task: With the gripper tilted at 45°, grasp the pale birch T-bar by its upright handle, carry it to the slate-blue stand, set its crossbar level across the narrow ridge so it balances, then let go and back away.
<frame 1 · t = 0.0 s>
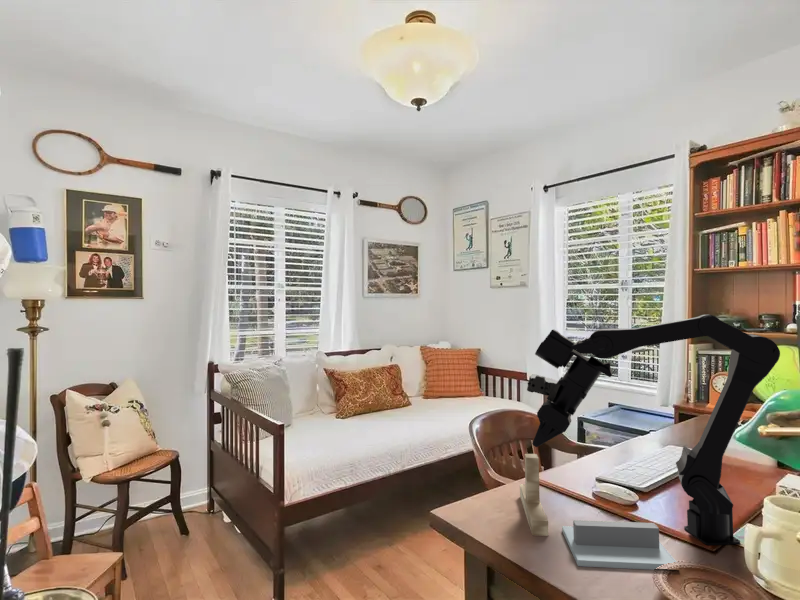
hand: (538, 439, 100), 15 cm above the table, tool tilted 35°, fingers open, 9 cm apart
t bar: (532, 515, 96), on the table
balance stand: (615, 549, 82), on the table
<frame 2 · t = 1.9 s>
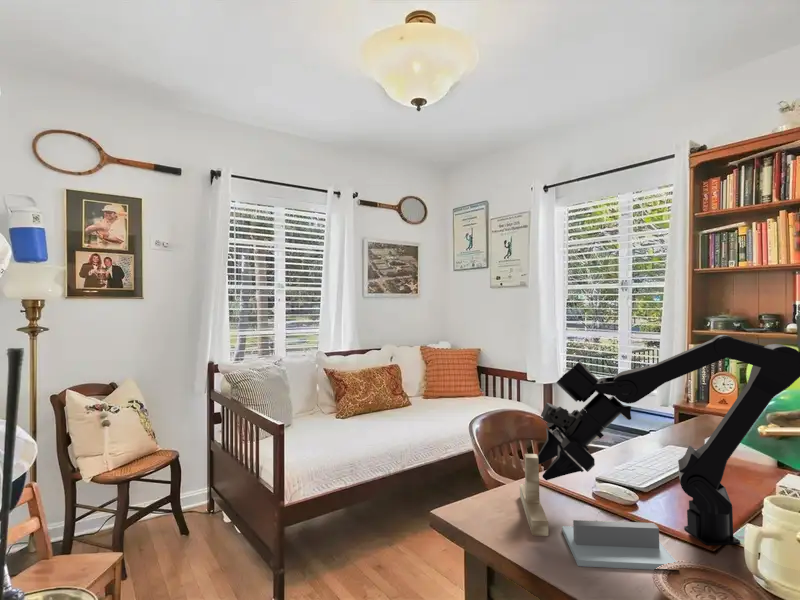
hand: (540, 470, 96), 9 cm above the table, tool tilted 45°, fingers open, 9 cm apart
nothing on the table moved.
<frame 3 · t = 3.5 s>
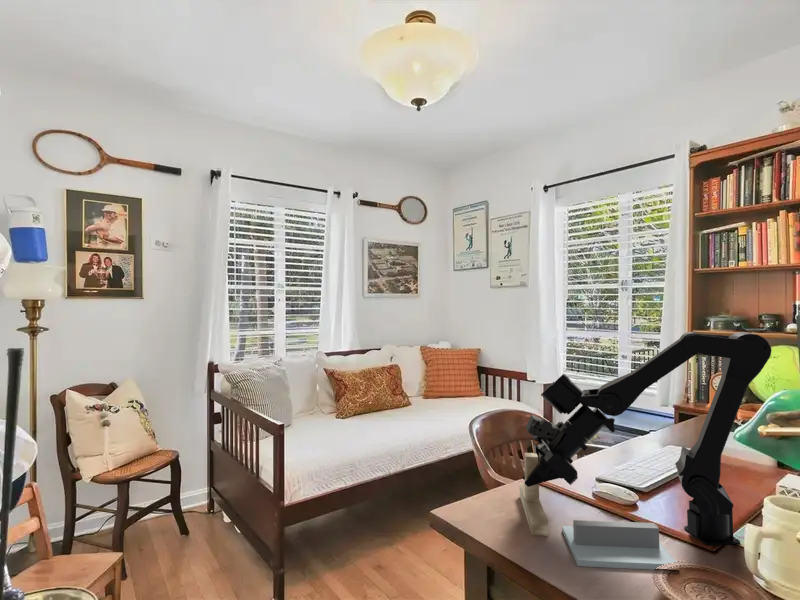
hand: (524, 482, 97), 7 cm above the table, tool tilted 45°, fingers closed on t bar, 2 cm apart
t bar: (532, 514, 97), on the table, touching gripper
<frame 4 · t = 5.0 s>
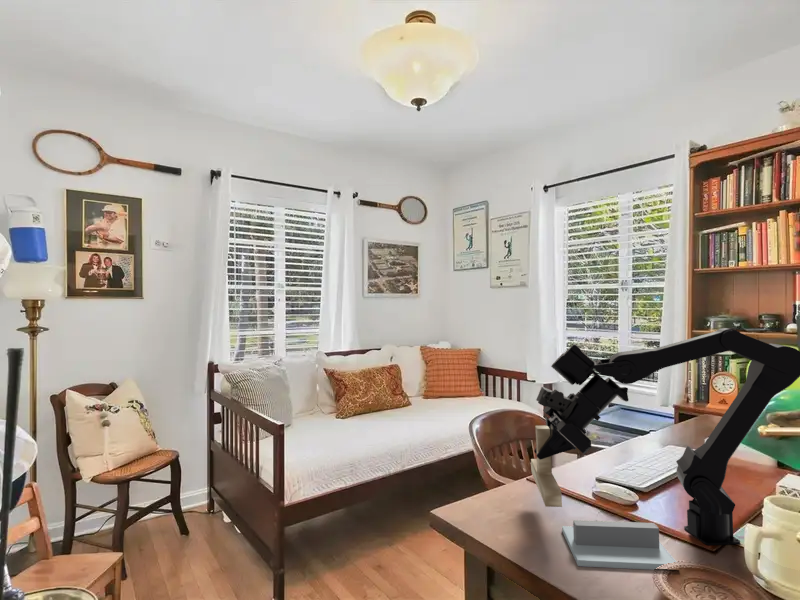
hand: (536, 455, 95), 13 cm above the table, tool tilted 45°, fingers closed on t bar, 2 cm apart
t bar: (545, 487, 94), point 6 cm above the table, touching gripper
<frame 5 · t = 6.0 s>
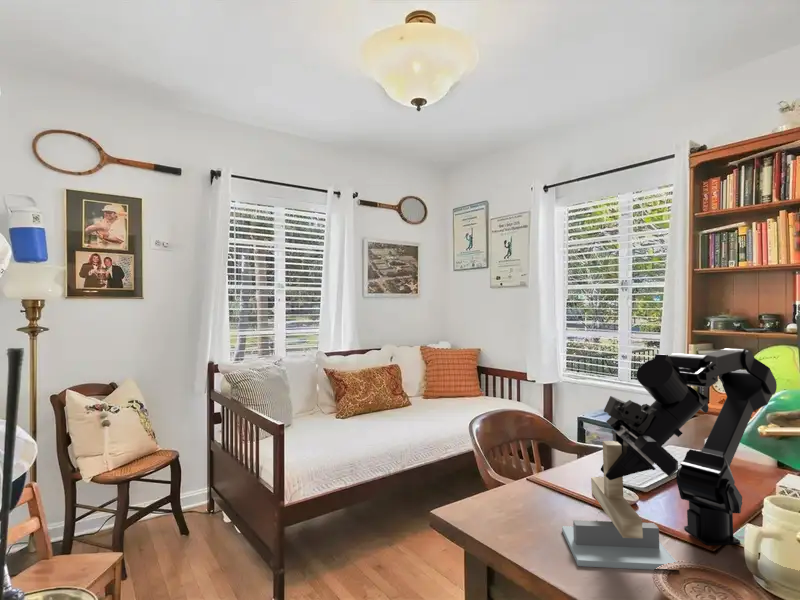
hand: (604, 474, 83), 13 cm above the table, tool tilted 45°, fingers closed on t bar, 2 cm apart
t bar: (614, 512, 82), point 6 cm above the table, touching gripper
when the fingers open (12 cm above the table, at t = 6.5 s): t bar stays where it is, resting on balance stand.
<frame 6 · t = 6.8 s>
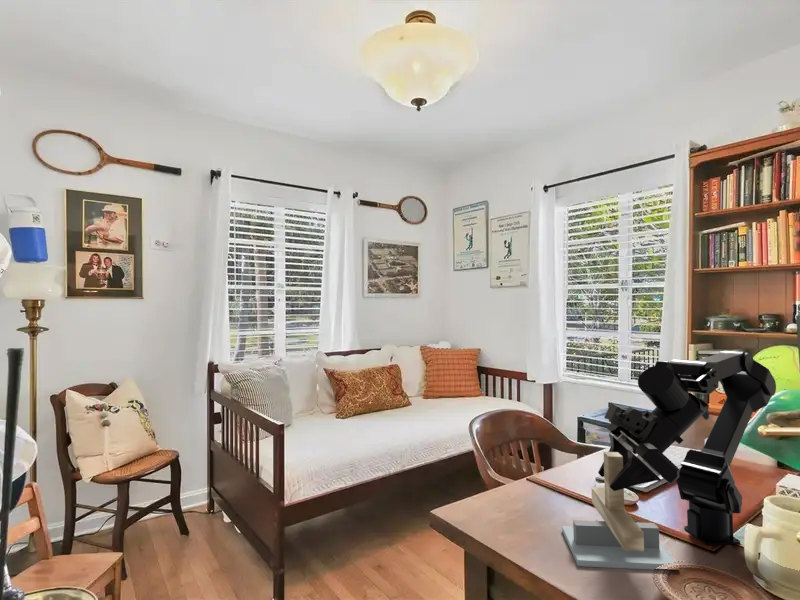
hand: (605, 481, 82), 12 cm above the table, tool tilted 45°, fingers open, 6 cm apart
t bar: (615, 524, 82), point 4 cm above the table, touching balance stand
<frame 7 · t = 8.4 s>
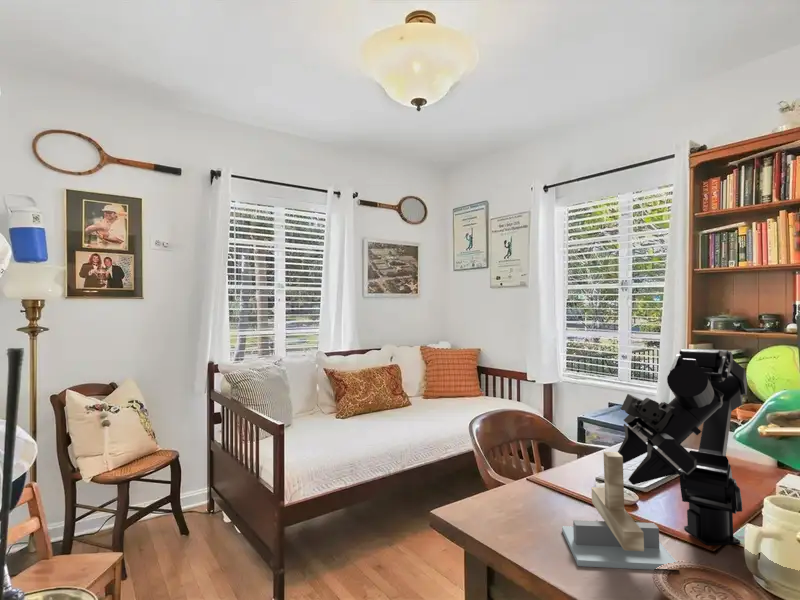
hand: (622, 472, 82), 14 cm above the table, tool tilted 45°, fingers open, 9 cm apart
nothing on the table moved.
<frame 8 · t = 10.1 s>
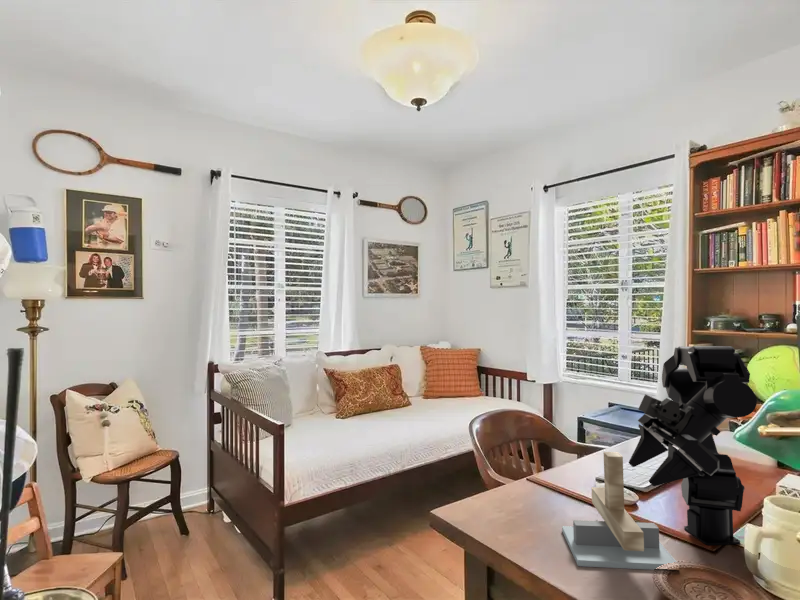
hand: (640, 474, 82), 14 cm above the table, tool tilted 45°, fingers open, 9 cm apart
nothing on the table moved.
at the end: t bar 0.0 cm off-centre on the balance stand, point 4.5 cm above the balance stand's base; t bar tilted 0°; the gripper is holding nothing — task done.
